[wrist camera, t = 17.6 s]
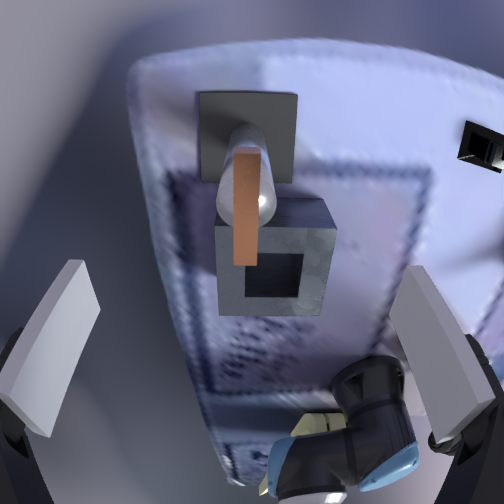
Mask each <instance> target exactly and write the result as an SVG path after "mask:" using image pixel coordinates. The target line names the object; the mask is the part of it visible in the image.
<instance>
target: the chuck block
mask: <svg viewBox="0 0 504 504" xmlns="http://www.w3.org/2000/svg"><path fill="white" fill-rule="evenodd" d="M276 200H277V205H276V210H275V213H274V215H273V216H272V218H271V219H270V220H269V221H268V222H267V223H266V224H264V225H263V226H261V227H259V228H258V246H257V266H242V265H234V233H233V227H232V226H230V225H228V224H227V223H226V222H224V221H223V220H222V218H221V217H220V215H219V214H218V211H217V216H216V221H215V226H214V228H215V251H216V271H217V290H218V307H219V315H222V316H319V315H320V311H321V307H322V302H323V298H324V293H325V289H326V284H327V279H328V274H329V269H330V265H331V260H332V254H333V249H334V244H335V239H336V233H337V227H336V225H335V223H334V221H333V219H332V216H331V214H330V212H329V210H328V208H327V206H326V204H325V202H324V200H323V199H306V198H277V197H276Z"/></svg>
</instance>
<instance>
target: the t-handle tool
mask: <svg viewBox="0 0 504 504" xmlns="http://www.w3.org/2000/svg"><path fill="white" fill-rule="evenodd" d="M276 205H277V200H276V194H275V189H274V183H273V178H272V173H271V167H270V162H269V157H268V152H267V147H266V142H265V137H264V133H263V131H262V130H261V129H260V128H259V127H258V126H256V125H254V124H251V123H244V124H241V125H239V126H237V127H236V128H235V129H234V130H233V132H232V134H231V137H230V141H229V146H228V150H227V154H226V158H225V162H224V167H223V171H222V175H221V180H220V184H219V188H218V193H217V197H216V208H217V211H218V214H219V215H220V217H221V218H222V220H223V221H224V222H226V223H227V224H228V225H230V226H232V227H233V233H234V265H242V266H257V246H258V228H259V227H261V226H263V225H264V224H266V223H267V222H268V221H269V220H270V219H271V218H272V216H273V215H274V213H275V210H276Z"/></svg>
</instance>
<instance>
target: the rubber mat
mask: <svg viewBox="0 0 504 504" xmlns="http://www.w3.org/2000/svg"><path fill="white" fill-rule="evenodd" d="M297 101H298V95H294V94H277V93H247V92H217V93H199V105H200V148H201V176H202V182H220V180H221V175H222V171H223V167H224V162H225V158H226V154H227V150H228V146H229V141H230V137H231V134H232V132H233V130H234V129H235V128H236V127H237V126H239V125H241V124H244V123H251V124H254V125H256V126H258V127H259V128H260V129H261V130H262V131H263V133H264V137H265V142H266V147H267V152H268V157H269V162H270V167H271V173H272V178H273V183H291V184H292V172H293V160H294V146H295V132H296V117H297Z"/></svg>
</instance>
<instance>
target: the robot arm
mask: <svg viewBox="0 0 504 504" xmlns="http://www.w3.org/2000/svg"><path fill="white" fill-rule="evenodd" d="M99 312H100V307H99V304H98V301H97V299H96V296H95V293H94V290H93V287H92V284H91V281H90V278H89V275H88V272H87V269H86V265H85V262H84V260H68V262H67V263H66V264H65V266H64V267H63V269H62V270H61V272H60V273H59V275H58V276H57V278H56V279H55V281H54V282H53V283H52V285H51V287H50V288H49V290H48V291H47V293H46V294H45V296H44V297H43V299H42V300H41V302H40V304H39V305H38V307H37V308H36V310H35V312H34V313H33V315H32V316H31V318H30V320H29V321H28V323H27V325H26V326H25V328H21V327H20V328H19V329H18V330H17V331H16V332H15V333H14V334H13V335H11V337H10V338H9V340H8V342H7V344H6V346H5V349H3V351H2V353H1V354H0V504H54V502H53V500H52V498H51V496H50V493H49V491H48V489H47V487H46V484H45V482H44V480H43V477H42V475H41V473H40V470H39V467H38V465H37V462H36V460H35V457H34V454H33V451H32V449H31V446H30V443H29V440H28V437H27V435H26V433H25V431H24V428H25V425H26V426H28V427H29V428H30V429H31V430H32V431H33V432H34V433H37V434H40V435H43V436H46V437H49V438H50V436H51V433H52V430H53V427H54V424H55V421H56V418H57V415H58V412H59V409H60V407H61V403H62V401H63V398H64V396H65V393H66V390H67V388H68V385H69V382H70V380H71V377H72V375H73V372H74V369H75V367H76V365H77V362H78V359H79V357H80V355H81V352H82V350H83V348H84V345H85V343H86V341H87V339H88V336H89V334H90V332H91V329H92V327H93V325H94V323H95V321H96V318H97V316H98V314H99ZM389 316H390V318H391V321H392V323H393V325H394V328H395V330H396V333H397V335H398V337H399V340H400V342H401V345H402V347H403V350H404V352H405V355H406V357H407V360H408V363H409V365H410V368H411V370H412V373H413V376H414V378H415V381H416V384H417V387H418V389H419V392H420V395H421V398H422V401H423V404H424V407H425V410H426V413H427V416H428V419H429V422H430V425H431V428H432V431H433V434H434V437H435V441H436V444H438V443H441V442H444V441H448V440H451V439H453V438H455V437H456V436H457V435H458V434H459V433H460V432H461V431H462V433H463V436H464V437H463V438H462V439H461V440H459V441H458V442H457V443H456V444H455V445H454V446H452V447H451V449H450V451H449V452H452V451H454V450H455V449H456V448H457V447H458V448H457V451H456V452H455V456H454V459H453V462H452V464H451V467H450V469H449V472H448V474H447V476H446V479H445V481H444V483H443V485H442V488H441V490H440V492H439V494H438V496H437V498H436V500H435V503H434V504H504V391H503V389H502V387H501V385H500V383H499V381H498V379H497V377H496V375H495V373H494V371H493V369H492V367H491V365H489V361H488V359H487V357H486V356H485V353H484V352H483V350H482V348H481V346H480V344H479V343H478V342H477V341H476V340H475V339H474V338H473V337H472V336H471V335H470V334H466V335H464V333H463V332H462V330H461V328H460V326H459V325H458V323H457V321H456V319H455V318H454V316H453V314H452V312H451V311H450V309H449V307H448V306H447V304H446V302H445V301H444V299H443V298H442V296H441V294H440V293H439V291H438V289H437V288H436V286H435V285H434V283H433V282H432V280H431V278H430V277H429V275H428V274H427V272H426V271H425V269H424V268H423V266H407V267H406V270H405V273H404V276H403V279H402V281H401V284H400V287H399V290H398V292H397V295H396V298H395V300H394V303H393V305H392V308H391V310H390V313H389ZM404 381H405V375H404V370H403V368H402V365H401V363H400V361H399V360H397V359H395V358H392V357H386V356H381V357H373V358H369V359H365V360H362V361H359V362H357V363H354V364H352V365H350V366H349V367H347V368H345V369H344V370H343V371H341V372H340V373H339V374H338V375H337V376H336V377H335V378H334V380H333V382H332V392H333V396H334V399H335V400H336V402H337V404H338V405H339V407H340V408H341V410H342V412H343V413H344V415H345V416H346V418H347V423H348V427H347V428H342V429H337V430H332V431H326V432H320V433H314V434H307V435H296V436H295V437H290V438H284V439H280V440H278V441H276V442H275V443H274V445H273V447H272V448H271V451H270V455H269V460H268V469H267V479H268V491H269V494H270V495H271V496H272V497H275V498H278V504H341V502H342V501H343V500H344V499H345V498H346V496H347V492H346V487H349V486H354V485H358V488H359V490H360V491H368V490H373V489H377V488H380V487H382V486H385V485H388V484H390V483H392V482H394V481H397V480H399V479H400V478H402V477H404V476H406V475H407V474H409V473H411V472H412V471H413V470H414V469H415V468H416V467H417V466H418V464H419V462H420V455H419V450H418V442H417V441H416V437H415V434H414V430H413V427H412V424H411V421H410V417H409V414H408V411H407V408H406V404H405V401H404Z"/></svg>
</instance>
